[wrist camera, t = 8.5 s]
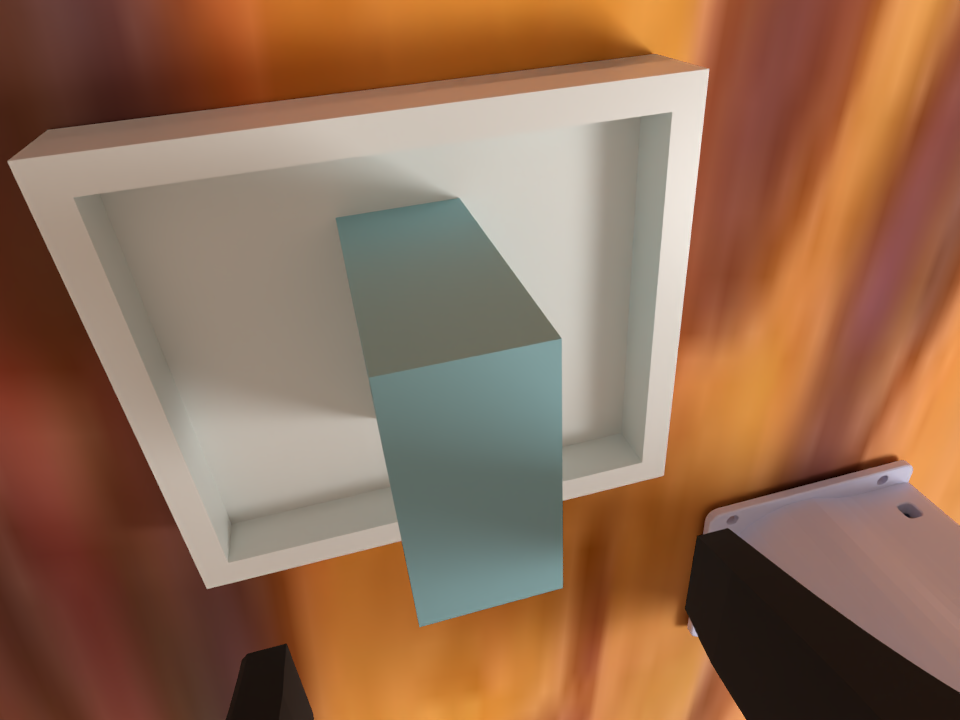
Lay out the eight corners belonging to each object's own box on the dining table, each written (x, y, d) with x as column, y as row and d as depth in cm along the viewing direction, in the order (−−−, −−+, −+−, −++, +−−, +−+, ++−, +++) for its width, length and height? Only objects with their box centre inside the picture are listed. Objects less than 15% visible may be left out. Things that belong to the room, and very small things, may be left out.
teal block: (477, 396, 19) (563, 587, 13) (376, 418, 19) (419, 627, 13) (459, 198, 16) (561, 338, 10) (335, 217, 15) (369, 377, 10)
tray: (654, 53, 16) (709, 68, 14) (629, 428, 23) (663, 475, 21) (47, 129, 14) (6, 161, 12) (214, 525, 20) (206, 589, 18)
